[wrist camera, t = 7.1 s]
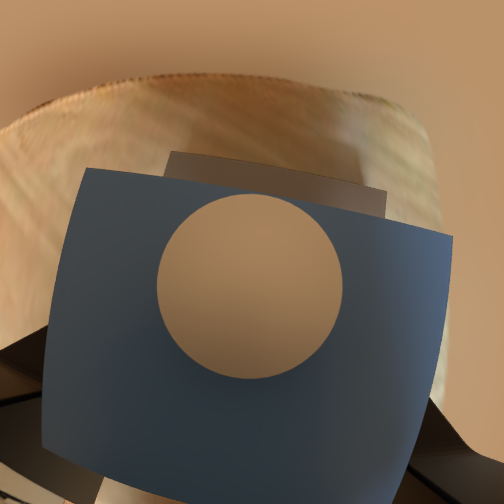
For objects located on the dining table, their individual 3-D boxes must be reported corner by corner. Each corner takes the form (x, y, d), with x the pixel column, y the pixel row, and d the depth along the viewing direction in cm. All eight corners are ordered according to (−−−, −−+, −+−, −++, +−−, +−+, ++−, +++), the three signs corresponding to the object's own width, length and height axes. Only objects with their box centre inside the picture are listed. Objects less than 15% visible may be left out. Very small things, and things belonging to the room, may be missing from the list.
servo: (329, 366, 15) (528, 512, 2) (159, 333, 16) (-86, 387, 2) (342, 298, 16) (589, 258, 2) (173, 265, 16) (-47, 140, 3)
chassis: (322, 445, 20) (333, 469, 16) (136, 408, 21) (115, 425, 17) (367, 208, 23) (386, 191, 19) (183, 174, 24) (170, 151, 20)
